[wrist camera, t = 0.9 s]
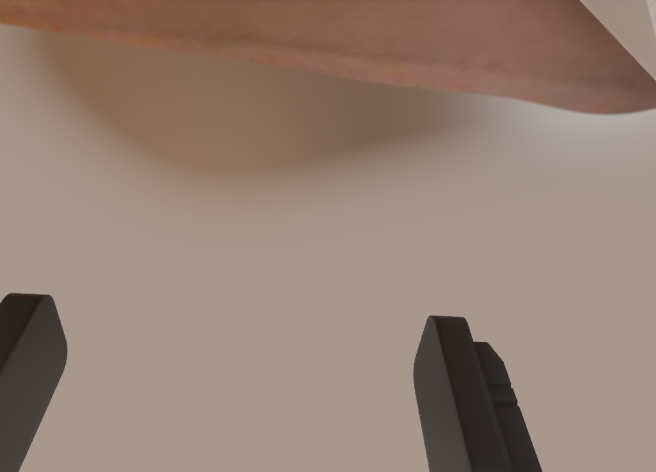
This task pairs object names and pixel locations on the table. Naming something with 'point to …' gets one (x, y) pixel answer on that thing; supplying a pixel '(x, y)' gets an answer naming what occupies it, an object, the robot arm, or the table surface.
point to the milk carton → (630, 27)
